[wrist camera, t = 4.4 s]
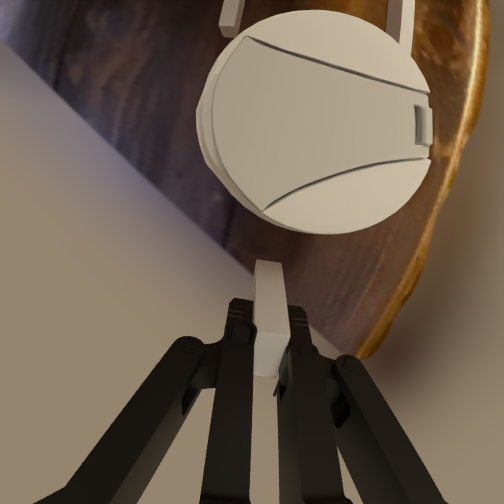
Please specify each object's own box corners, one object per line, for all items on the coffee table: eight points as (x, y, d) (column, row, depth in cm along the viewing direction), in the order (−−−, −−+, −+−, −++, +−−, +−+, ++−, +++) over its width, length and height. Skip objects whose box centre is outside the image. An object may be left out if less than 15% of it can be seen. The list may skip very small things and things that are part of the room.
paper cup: (335, 71, 18) (437, 18, 5) (340, 168, 21) (439, 242, 8) (228, 75, 18) (176, 7, 6) (238, 173, 21) (205, 258, 9)
